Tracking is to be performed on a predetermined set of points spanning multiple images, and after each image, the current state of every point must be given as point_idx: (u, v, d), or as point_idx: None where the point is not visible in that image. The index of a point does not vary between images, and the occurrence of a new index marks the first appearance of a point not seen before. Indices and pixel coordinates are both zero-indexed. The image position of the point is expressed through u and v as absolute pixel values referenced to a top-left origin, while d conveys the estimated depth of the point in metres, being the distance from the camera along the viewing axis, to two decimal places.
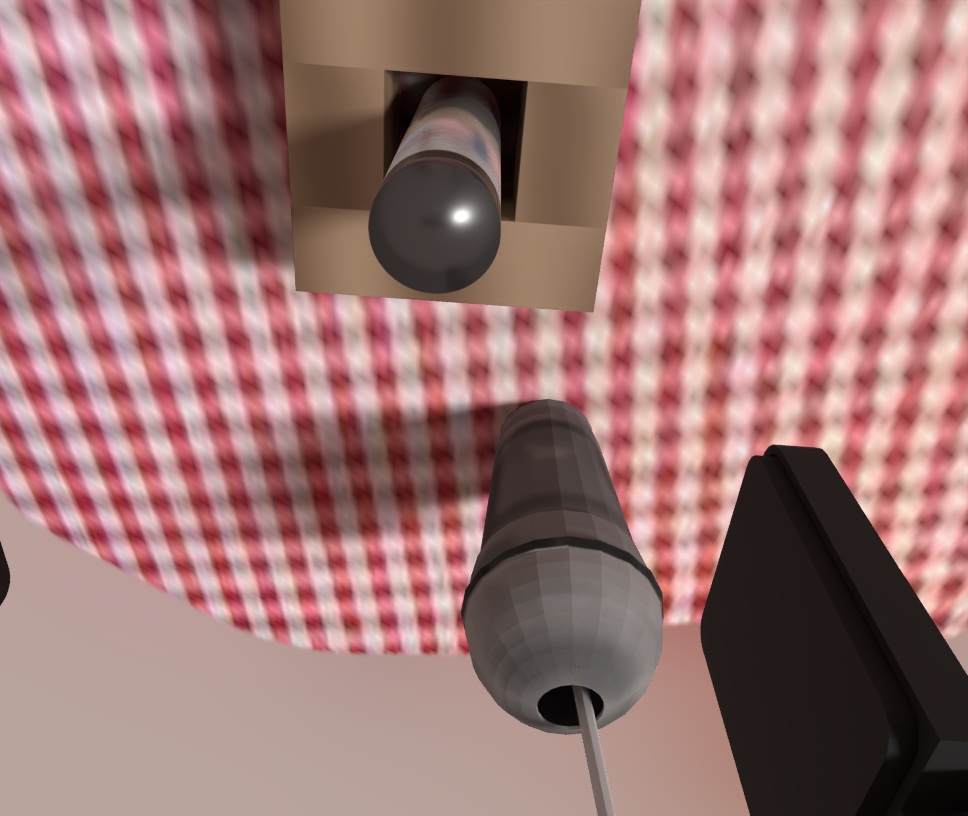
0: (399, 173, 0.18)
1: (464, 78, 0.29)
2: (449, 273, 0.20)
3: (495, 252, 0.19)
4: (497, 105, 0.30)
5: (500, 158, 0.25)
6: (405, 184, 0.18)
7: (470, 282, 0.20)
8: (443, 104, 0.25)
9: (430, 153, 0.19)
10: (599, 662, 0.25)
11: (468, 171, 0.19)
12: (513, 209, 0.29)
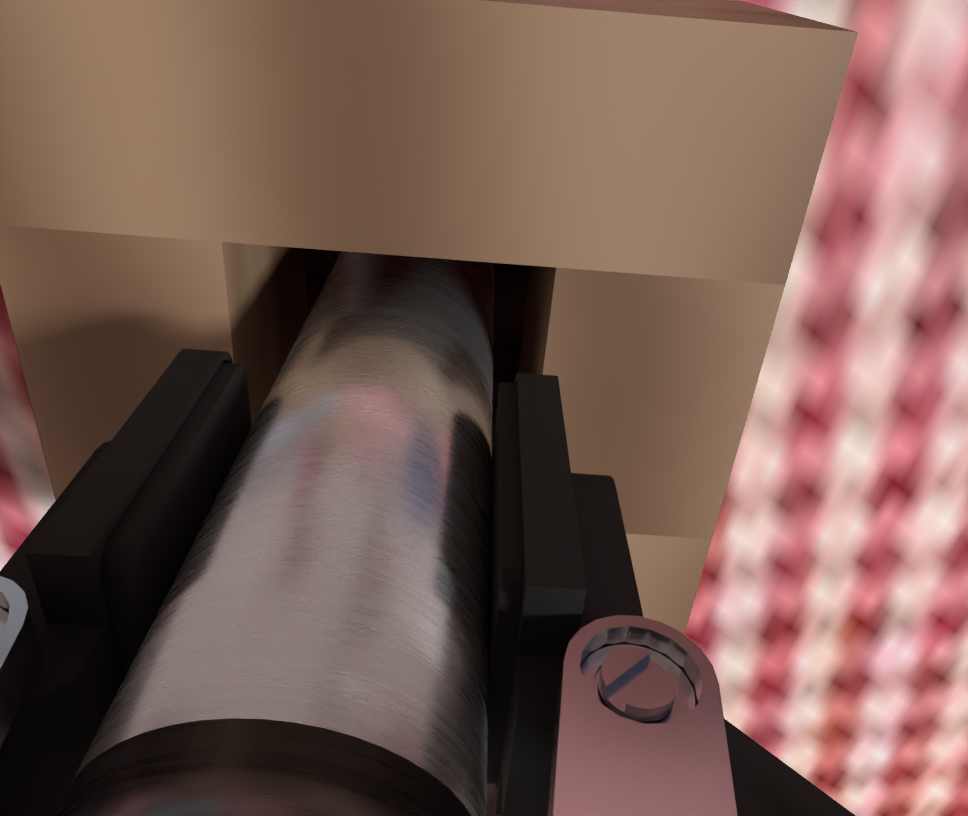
0: None
1: None
2: None
3: None
4: None
5: (491, 457, 0.10)
6: None
7: None
8: (356, 329, 0.10)
9: (207, 771, 0.05)
10: None
11: None
12: None
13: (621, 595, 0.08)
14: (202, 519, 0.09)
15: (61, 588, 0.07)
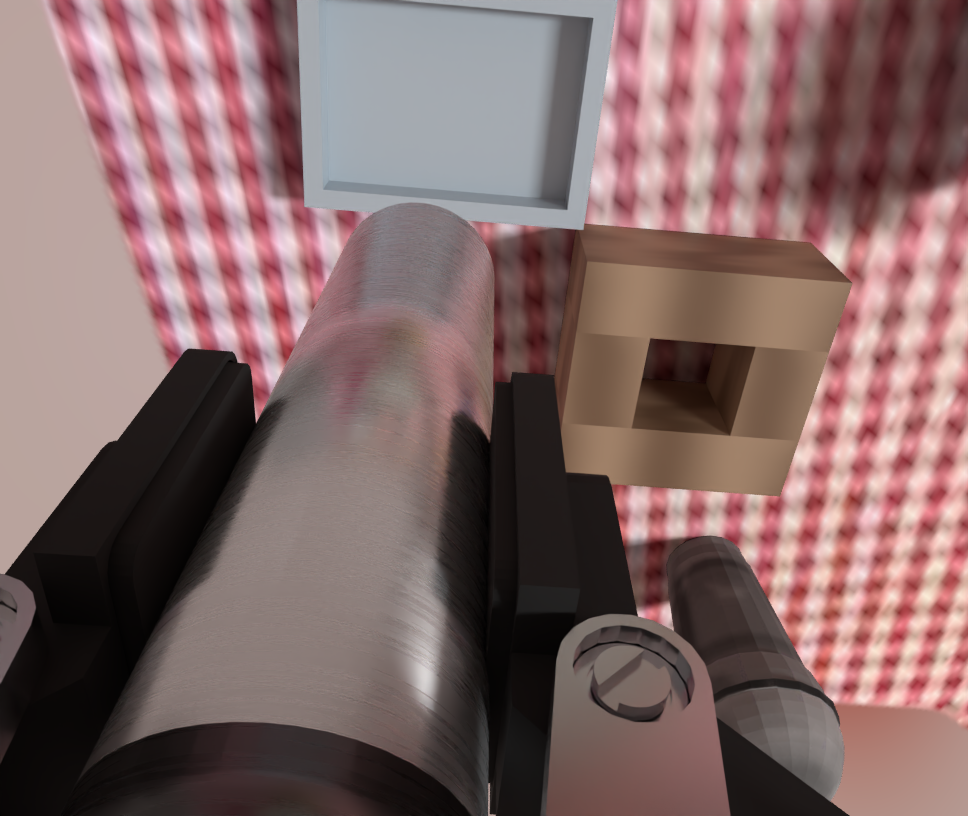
0: None
1: (423, 215, 0.15)
2: None
3: None
4: (488, 261, 0.16)
5: None
6: None
7: None
8: (357, 332, 0.10)
9: (210, 775, 0.05)
10: (810, 779, 0.33)
11: None
12: (722, 419, 0.38)
13: (616, 594, 0.08)
14: None
15: (68, 588, 0.07)
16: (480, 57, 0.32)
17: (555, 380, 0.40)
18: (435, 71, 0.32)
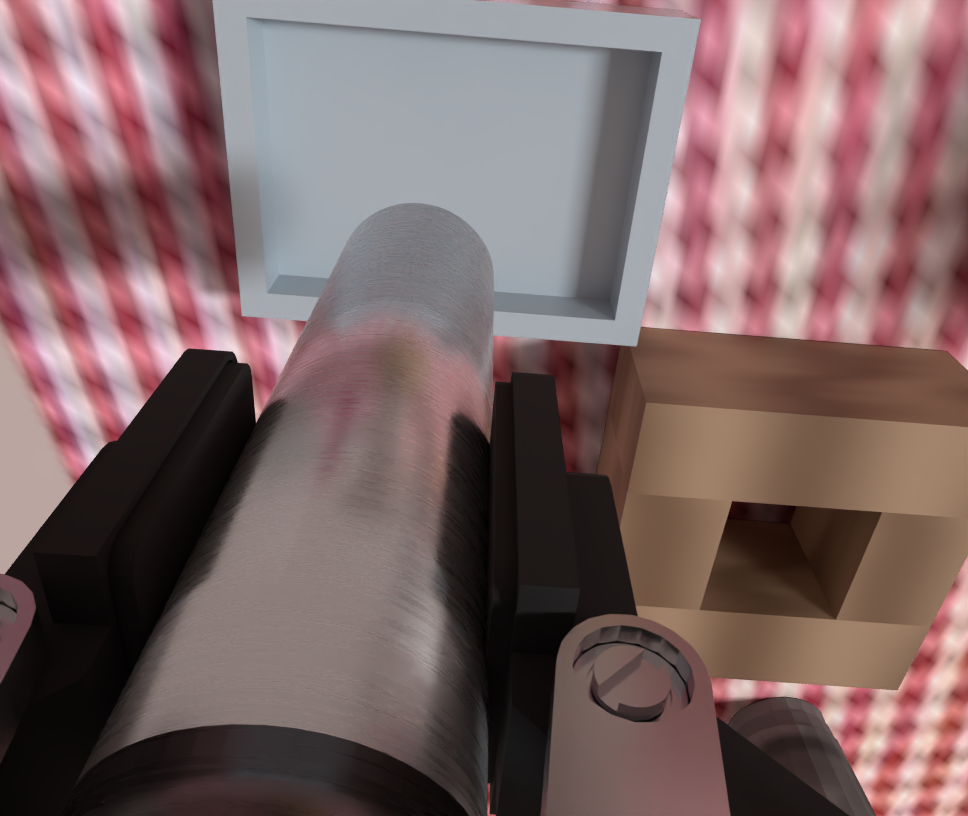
0: None
1: (423, 216, 0.15)
2: None
3: None
4: (488, 261, 0.16)
5: None
6: None
7: None
8: (357, 333, 0.10)
9: (209, 777, 0.05)
10: None
11: None
12: (821, 590, 0.28)
13: (616, 595, 0.08)
14: None
15: (69, 588, 0.07)
16: (490, 106, 0.22)
17: None
18: (425, 126, 0.22)
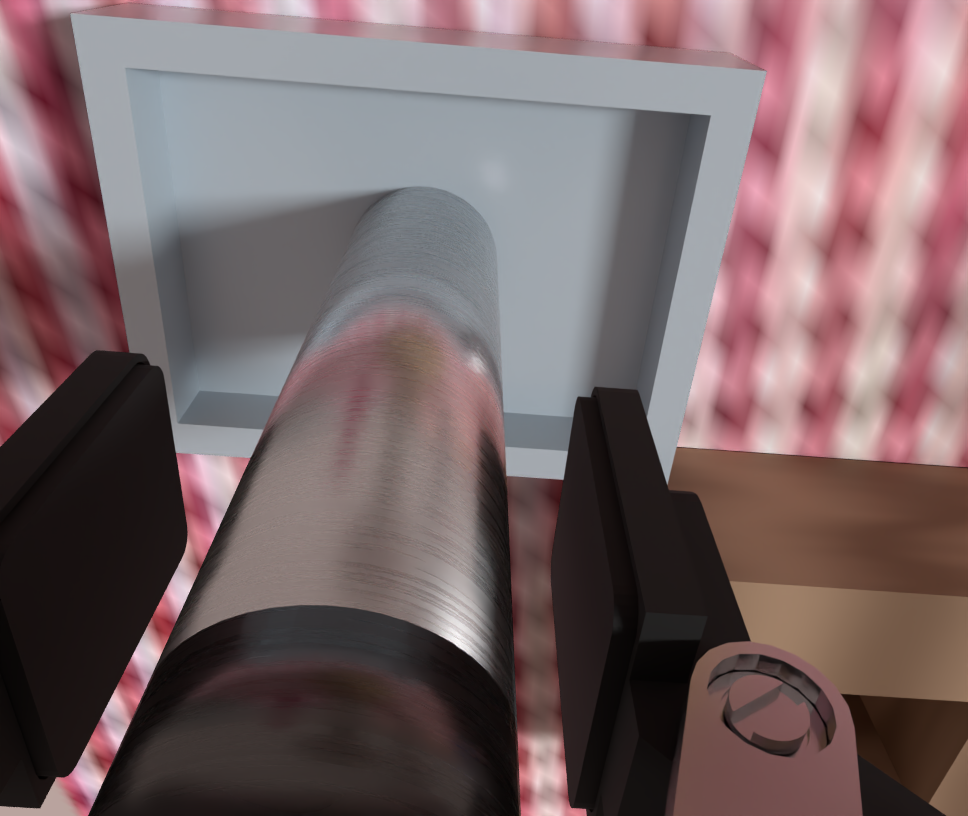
0: (143, 804, 0.05)
1: (431, 197, 0.16)
2: None
3: None
4: (492, 242, 0.16)
5: (503, 416, 0.11)
6: None
7: None
8: (377, 298, 0.11)
9: (284, 644, 0.06)
10: None
11: (408, 764, 0.05)
12: (895, 771, 0.22)
13: (725, 617, 0.07)
14: (105, 525, 0.08)
15: None
16: (472, 181, 0.16)
17: None
18: None
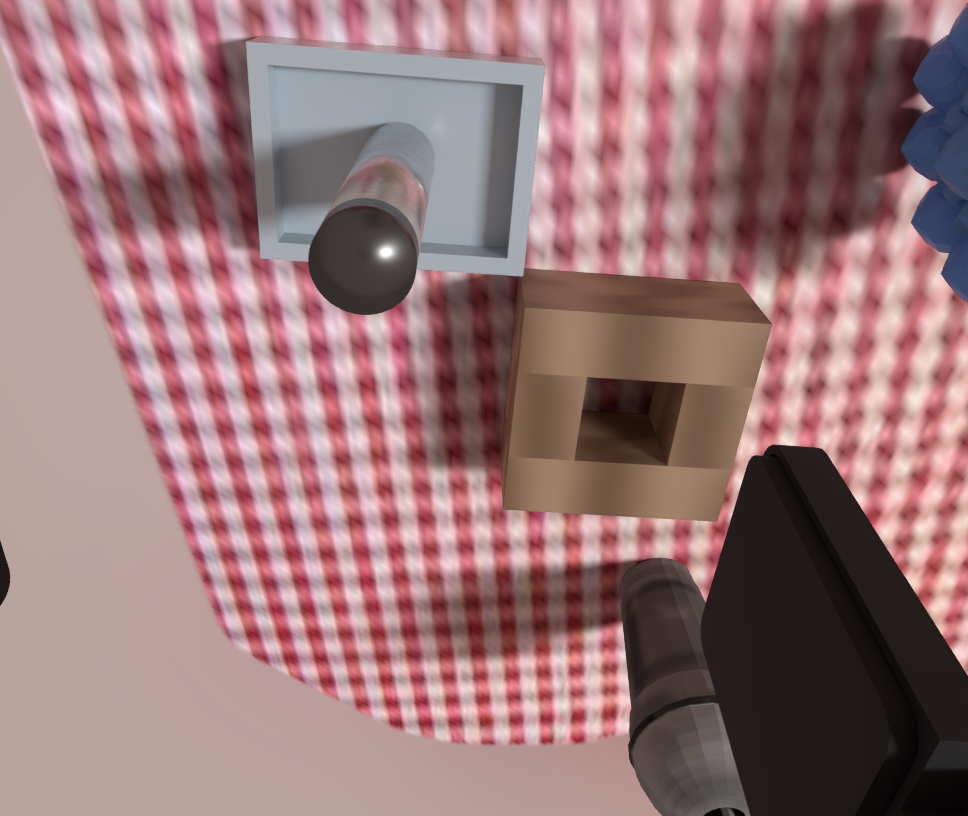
0: (332, 219, 0.23)
1: (401, 126, 0.34)
2: (375, 298, 0.24)
3: (412, 281, 0.24)
4: (431, 148, 0.34)
5: (427, 198, 0.29)
6: (337, 227, 0.23)
7: (393, 305, 0.24)
8: (378, 153, 0.29)
9: (358, 201, 0.24)
10: None
11: (388, 217, 0.23)
12: (661, 450, 0.40)
13: None
14: None
15: None
16: (421, 119, 0.34)
17: (505, 414, 0.42)
18: None
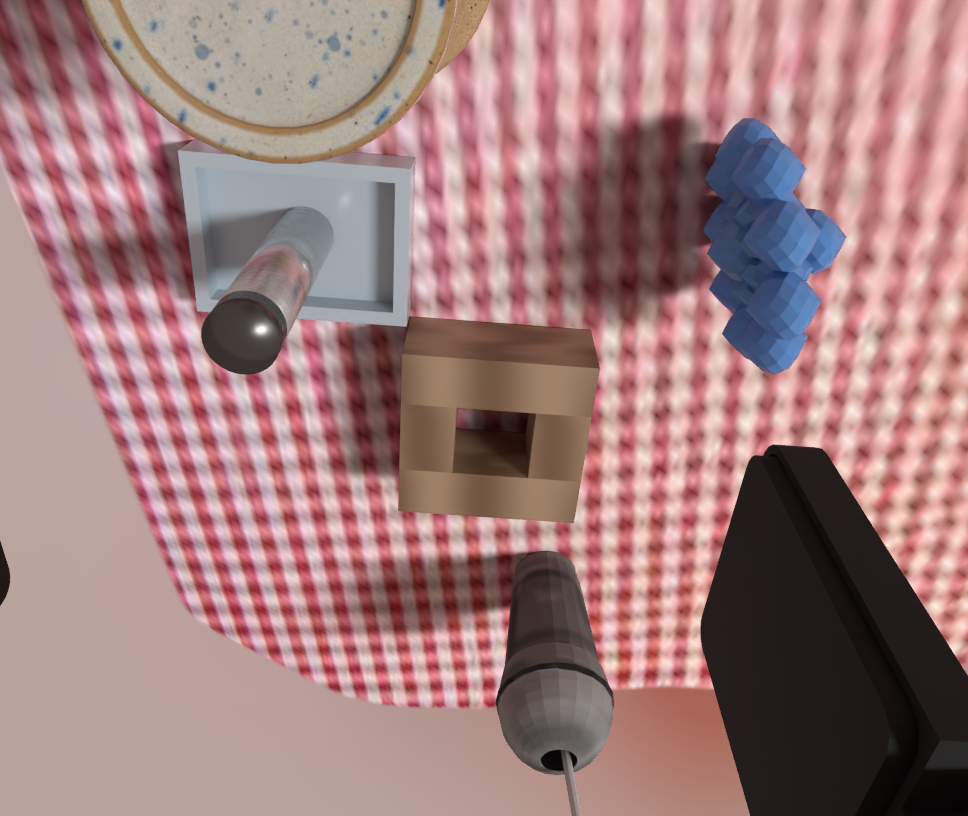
0: (216, 309, 0.32)
1: (304, 211, 0.43)
2: (252, 363, 0.33)
3: (277, 351, 0.33)
4: (329, 227, 0.44)
5: (310, 277, 0.38)
6: (220, 315, 0.32)
7: (266, 367, 0.34)
8: (273, 242, 0.38)
9: (238, 294, 0.33)
10: (574, 737, 0.45)
11: (257, 307, 0.32)
12: (526, 464, 0.49)
13: None
14: None
15: None
16: (321, 204, 0.43)
17: None
18: None
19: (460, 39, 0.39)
